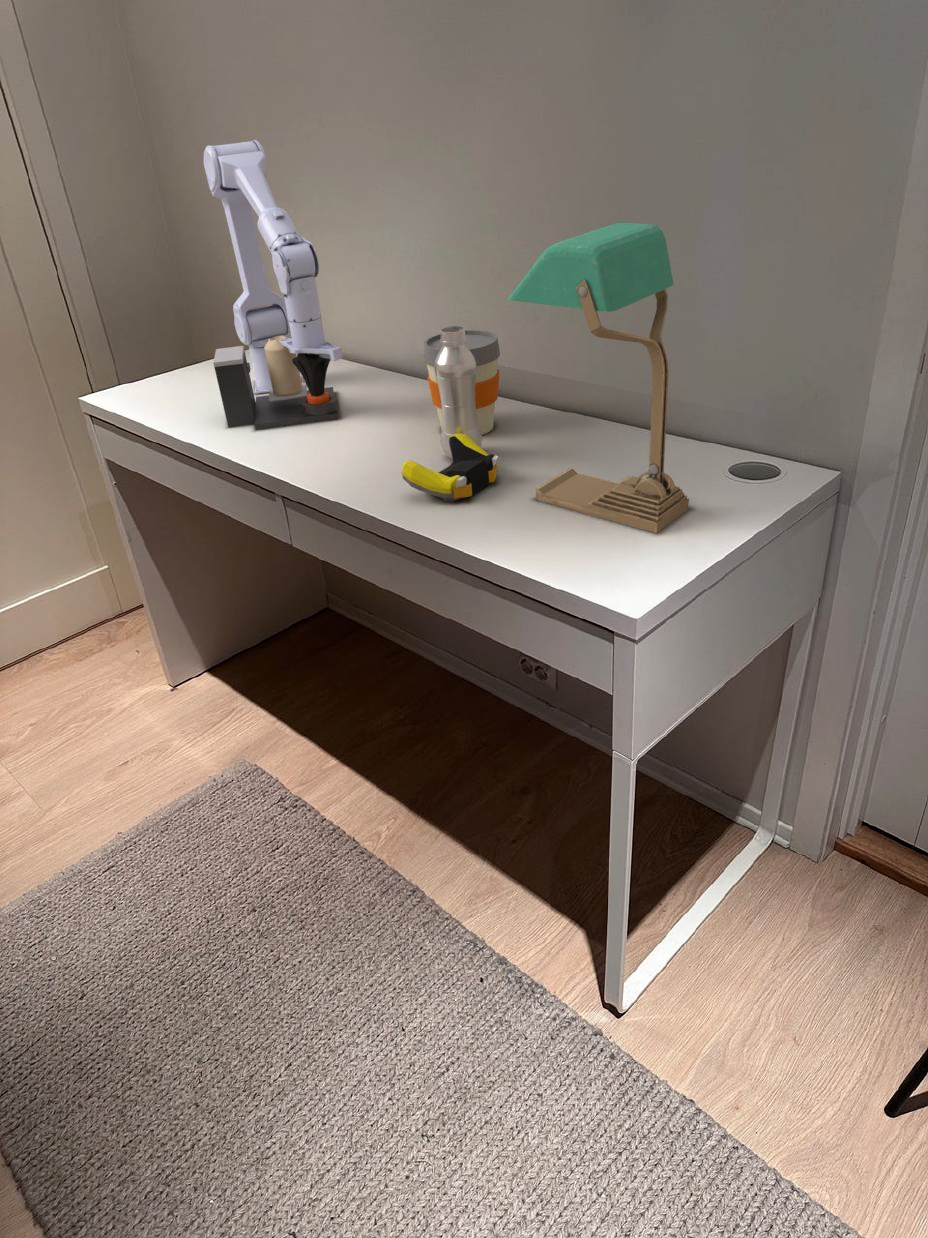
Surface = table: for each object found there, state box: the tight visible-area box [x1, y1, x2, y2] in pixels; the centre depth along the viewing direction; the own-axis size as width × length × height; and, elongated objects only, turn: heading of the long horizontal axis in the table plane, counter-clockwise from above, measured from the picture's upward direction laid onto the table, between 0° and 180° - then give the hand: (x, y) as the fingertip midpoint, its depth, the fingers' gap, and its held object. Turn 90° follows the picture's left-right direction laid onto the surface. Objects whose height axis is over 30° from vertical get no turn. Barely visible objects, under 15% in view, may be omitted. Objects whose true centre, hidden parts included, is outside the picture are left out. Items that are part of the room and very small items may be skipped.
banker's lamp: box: [507, 222, 690, 534], centre depth 112 cm, size 16×21×35 cm
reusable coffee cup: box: [423, 329, 501, 436], centre depth 146 cm, size 13×13×15 cm
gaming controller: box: [401, 433, 499, 502], centre depth 129 cm, size 15×6×10 cm
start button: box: [307, 391, 330, 404], centre depth 160 cm, size 4×4×2 cm
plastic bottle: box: [434, 325, 483, 459], centre depth 135 cm, size 6×7×20 cm
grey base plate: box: [253, 386, 340, 431], centre depth 164 cm, size 16×15×3 cm
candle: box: [264, 335, 303, 396], centre depth 162 cm, size 6×6×10 cm
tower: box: [212, 345, 308, 428], centre depth 162 cm, size 10×15×12 cm
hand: (317, 394), depth 159 cm, fingers closed, pressing on start button
